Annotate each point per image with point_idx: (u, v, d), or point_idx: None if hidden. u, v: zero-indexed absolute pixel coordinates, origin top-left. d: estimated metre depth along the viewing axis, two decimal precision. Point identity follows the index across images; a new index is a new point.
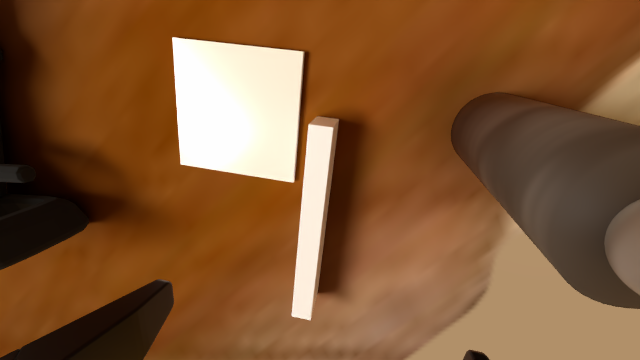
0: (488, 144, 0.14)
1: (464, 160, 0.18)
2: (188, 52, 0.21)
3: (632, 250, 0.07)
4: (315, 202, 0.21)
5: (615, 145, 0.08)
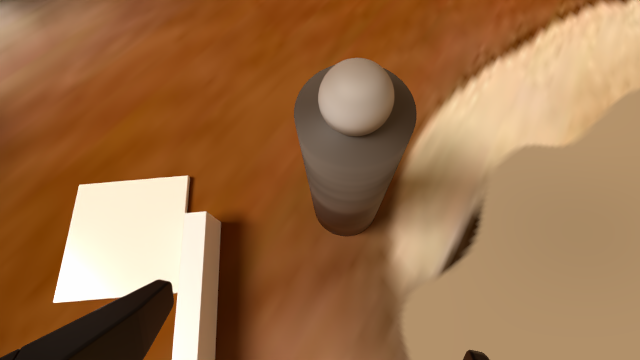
0: None
1: (320, 216, 0.22)
2: (90, 193, 0.25)
3: (319, 96, 0.11)
4: (192, 289, 0.20)
5: None
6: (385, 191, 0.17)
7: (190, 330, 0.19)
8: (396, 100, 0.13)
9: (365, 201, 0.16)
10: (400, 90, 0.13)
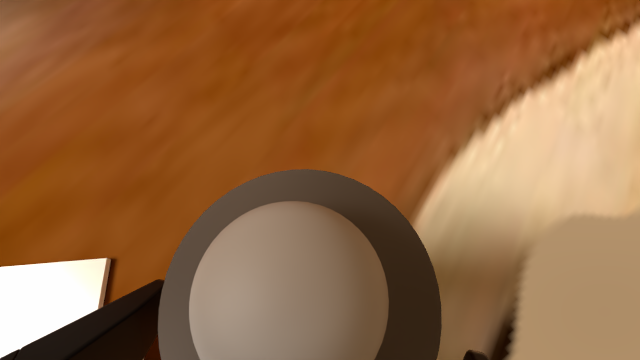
0: None
1: None
2: None
3: None
4: None
5: None
6: None
7: None
8: (394, 272, 0.05)
9: None
10: (403, 244, 0.06)
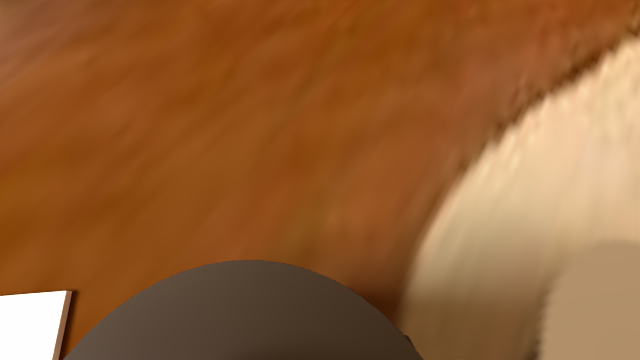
0: None
1: None
2: None
3: None
4: None
5: None
6: None
7: None
8: None
9: None
10: None
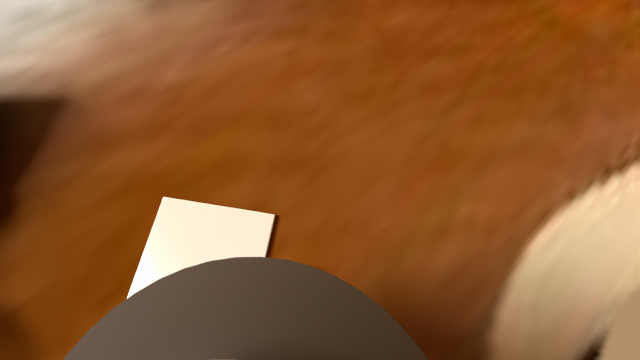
0: None
1: None
2: (173, 209, 0.24)
3: None
4: None
5: None
6: None
7: None
8: None
9: None
10: None
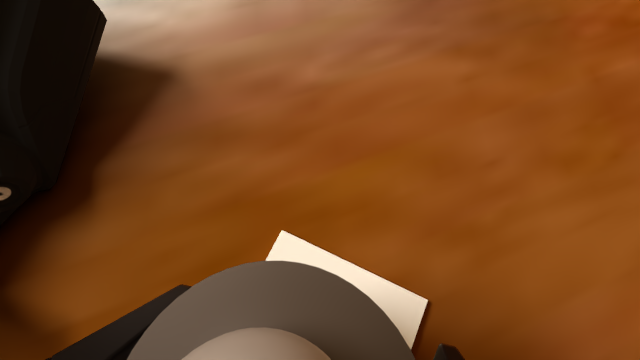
0: None
1: None
2: (291, 250, 0.18)
3: None
4: None
5: None
6: None
7: None
8: None
9: None
10: None
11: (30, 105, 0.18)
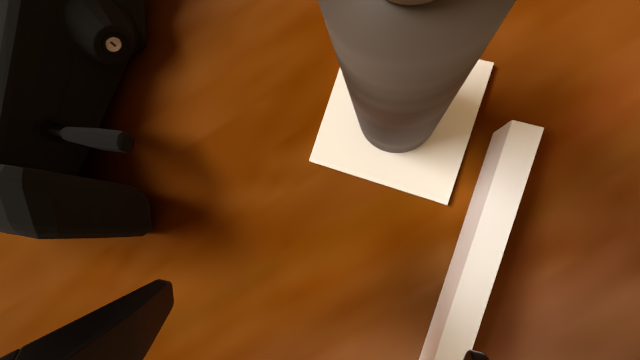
0: None
1: (369, 135, 0.17)
2: None
3: None
4: (500, 220, 0.16)
5: None
6: None
7: (487, 264, 0.16)
8: None
9: (434, 109, 0.11)
10: None
11: None
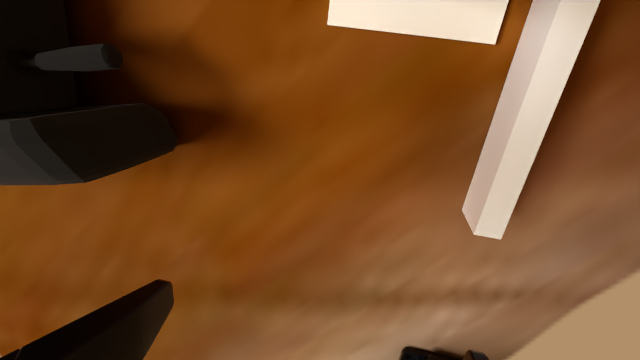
0: None
1: None
2: None
3: None
4: (564, 51, 0.14)
5: None
6: None
7: (544, 104, 0.15)
8: None
9: None
10: None
11: None
